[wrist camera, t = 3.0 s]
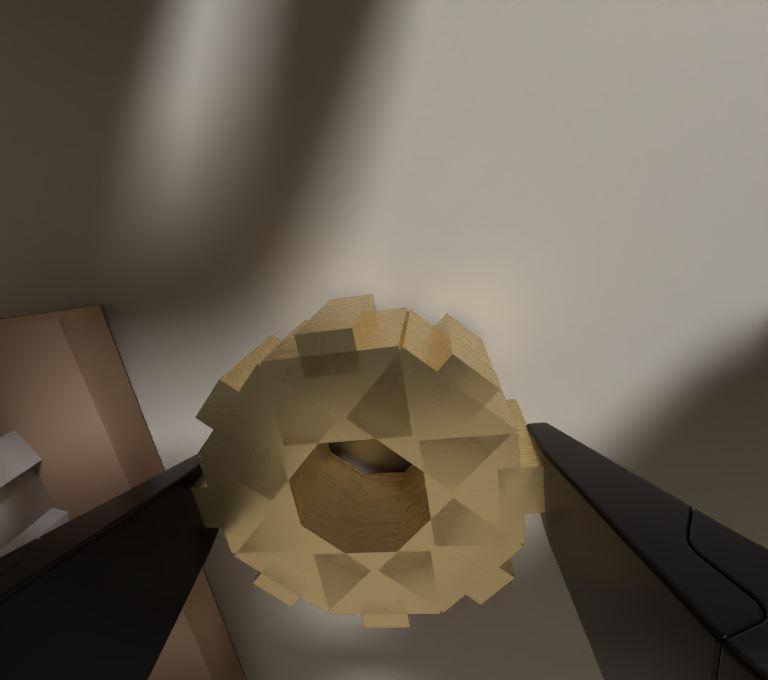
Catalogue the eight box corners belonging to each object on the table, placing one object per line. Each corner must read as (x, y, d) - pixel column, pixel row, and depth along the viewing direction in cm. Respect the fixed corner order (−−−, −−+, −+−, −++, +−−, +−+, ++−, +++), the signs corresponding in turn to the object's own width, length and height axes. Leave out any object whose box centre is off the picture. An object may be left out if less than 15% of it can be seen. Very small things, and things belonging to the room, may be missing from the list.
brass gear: (507, 276, 8) (537, 304, 6) (523, 531, 10) (550, 627, 8) (212, 315, 9) (139, 354, 7) (280, 540, 11) (242, 627, 9)
